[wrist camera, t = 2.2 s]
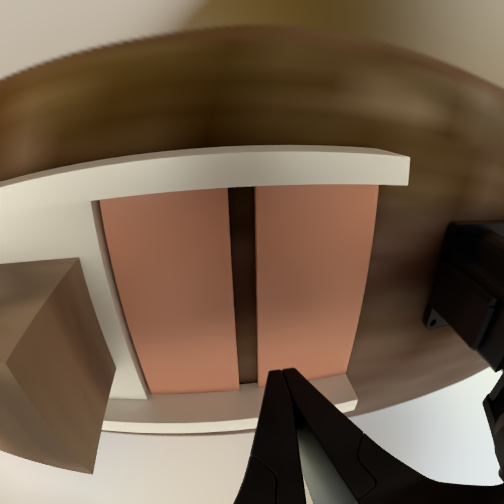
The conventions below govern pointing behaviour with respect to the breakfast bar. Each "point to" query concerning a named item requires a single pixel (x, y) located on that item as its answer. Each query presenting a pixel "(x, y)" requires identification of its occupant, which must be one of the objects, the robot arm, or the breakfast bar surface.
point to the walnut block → (51, 365)
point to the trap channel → (209, 269)
